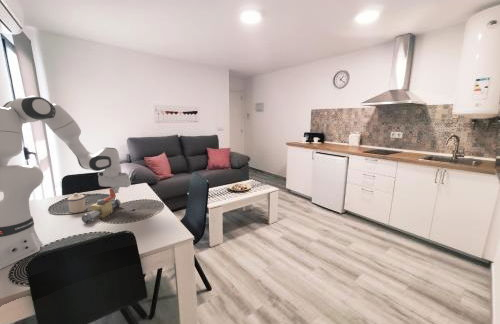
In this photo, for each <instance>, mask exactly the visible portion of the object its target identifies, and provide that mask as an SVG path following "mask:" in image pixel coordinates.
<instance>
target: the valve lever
mask: <svg viewBox="0 0 500 324" xmlns="http://www.w3.org/2000/svg"><path fill="white" fill-rule="evenodd" d="M108 190H109V196H107V197H105V198H103V199H101V198H100V199H98V200H96V203H97V204H103V203H105V202H106V201H111V200H113V199H116V198H117V195H116V193H114V191H113V189H112V188H111V187H110V188H109V189H108Z"/></svg>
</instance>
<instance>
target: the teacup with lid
mask: <svg viewBox="0 0 500 324" xmlns="http://www.w3.org/2000/svg"><path fill="white" fill-rule="evenodd" d="M66 200H67V204H68V210H69V213H70V212H71V214H77V213H78V212H79V213H81V212H85V211H86V210H87V203H86V202H87V201H86V195H85V194H78V193H77V192H75V193H73V195H71V196H69V197H68V198H67V199H66ZM84 210H85V211H84Z"/></svg>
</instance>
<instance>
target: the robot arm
mask: <svg viewBox="0 0 500 324" xmlns="http://www.w3.org/2000/svg"><path fill="white" fill-rule="evenodd" d="M39 121H41V122H42V123H44V124H46V126H47V127H48V128H49V129H50V130H51V132H52V133H54V134H55V135H56V137H58V138H59V139H60V140H61V141H62V142H64V144H65V145H66V146H67V147H68V149H70V150H71V151H72V153H73V154H74V155H75V157H76V160H77V162H78V165H79V167H81V168H82V169H85V170H91V171H96V172H98V173H97V176H98V177H97V178H98V185H99V186H100V187H106V188H107V187H110V189H111V188H112V189H113V191H114V193H115V194H119V190H120V188H128V187H131V186H132V185H131V184H132V183H131V179H130V176H129V174H128V173H126V172H122V166H121V164H120V162H121V160H120V155H119V151H118V149H116V147H103V148H102V149H100V150H99V151H98V152H96V153H92V152H90V151H89V150H87V149H86V147H85V145H84V144H82V142H81V140H80V135H81V133H82V130H81V127H80V126H79V124H78V123H77V122H76V120H75V119H74V118H73V117H72V115H70V114H69V113H68V112H67V110H65V109H64V108H63V107H62V106H61V105H59V104H57V103H51V102H50V101H49V100H47V99H46V98H44V97H42V96H37V95H29V96H26V97H19V98H18V97H17V98H16V99H13V100H11V101H7V102H6V103H5V104H4V105H3V106H2V107H1V106H0V193H3V199H1V200H0V270H2V269H4V268H6V267H8V266H11V265H12V264H14V263H17V262H19V261H21V260H23V259H25V258H28V257H29V256H32V255H34V254H35V253H38V252H40V251H41V247H42V245H43V243H42V241H41V240H40V238H39V236H38V235H37V231H36V229H35V222H34V217H33V216H32V214H31V209H30V198H31V195H32V194H33V192H34V191H35V190H36V189H37V188H38V187H40V186H41V185H42V183H43V181H44V173H43V171H42V169H40V168H39V167H38V166H36V165H29V164H17V165H15V164H12V165H11V164H10V165H8V163H9V161H10V160H11V159H13V158H14V157H17V156H18V155H20V154H21V153H22V151H23V131H22V128H23V124H27V123H35V122H39Z"/></svg>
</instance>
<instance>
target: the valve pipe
mask: <svg viewBox="0 0 500 324" xmlns="http://www.w3.org/2000/svg"><path fill="white" fill-rule="evenodd" d="M121 205H122V204H121V200H120V199H118V198H113V199H112V200H108V201H106V202H105V203H103V204H97V202H96V203H93V204H91V205H90V211H91V212H90V213H84V214H82V215H81V221H82V222H83V223H84V224H90V223H91V222H92V221H93V220H94V219H96V218H98V219H104V218H106V217H107V216H109V215H111V214H113V213H112V212H114V211H113V209H115V208H119V207H120V206H121ZM110 213H111V214H110ZM105 216H106V217H105ZM103 217H104V218H103Z"/></svg>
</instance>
